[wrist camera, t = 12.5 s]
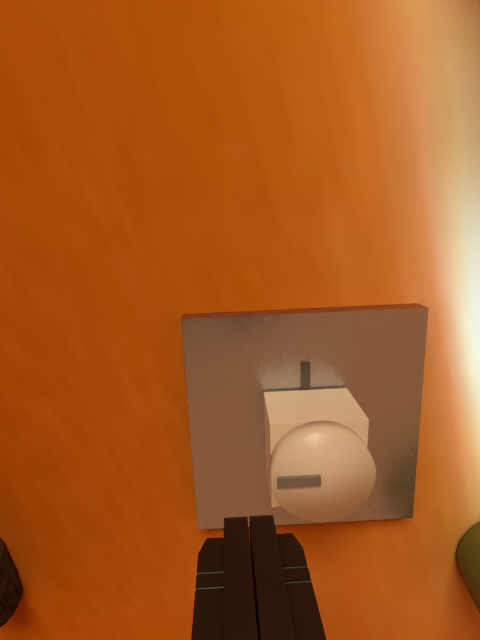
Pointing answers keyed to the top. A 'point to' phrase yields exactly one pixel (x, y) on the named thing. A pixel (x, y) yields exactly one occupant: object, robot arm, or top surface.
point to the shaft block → (301, 374)
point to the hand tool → (8, 586)
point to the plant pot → (470, 562)
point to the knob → (317, 453)
